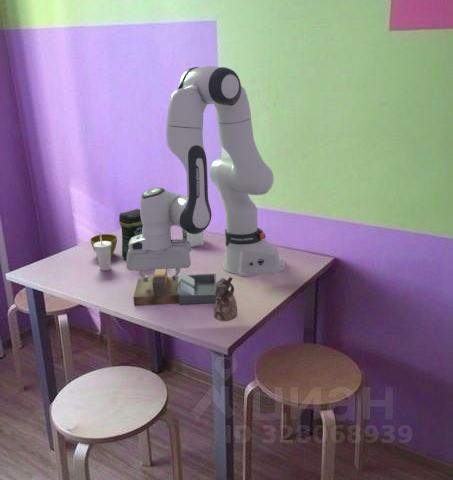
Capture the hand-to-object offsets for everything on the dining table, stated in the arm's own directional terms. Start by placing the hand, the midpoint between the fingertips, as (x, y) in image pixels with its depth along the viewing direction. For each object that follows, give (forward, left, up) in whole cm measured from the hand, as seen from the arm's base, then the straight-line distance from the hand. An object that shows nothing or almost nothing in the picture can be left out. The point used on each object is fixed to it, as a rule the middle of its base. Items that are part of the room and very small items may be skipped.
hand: (160, 280), depth 168 cm
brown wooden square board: (+1, 0, -5) cm, 5 cm away
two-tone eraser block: (0, 0, -2) cm, 2 cm away
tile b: (-8, +4, -3) cm, 9 cm away
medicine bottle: (-10, -46, -5) cm, 47 cm away
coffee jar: (+12, -34, -5) cm, 36 cm away
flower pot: (+24, -37, -5) cm, 44 cm away
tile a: (-8, -4, -3) cm, 9 cm away
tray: (-12, 0, -5) cm, 13 cm away
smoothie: (+22, -24, -5) cm, 33 cm away
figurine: (-20, +16, -5) cm, 26 cm away
